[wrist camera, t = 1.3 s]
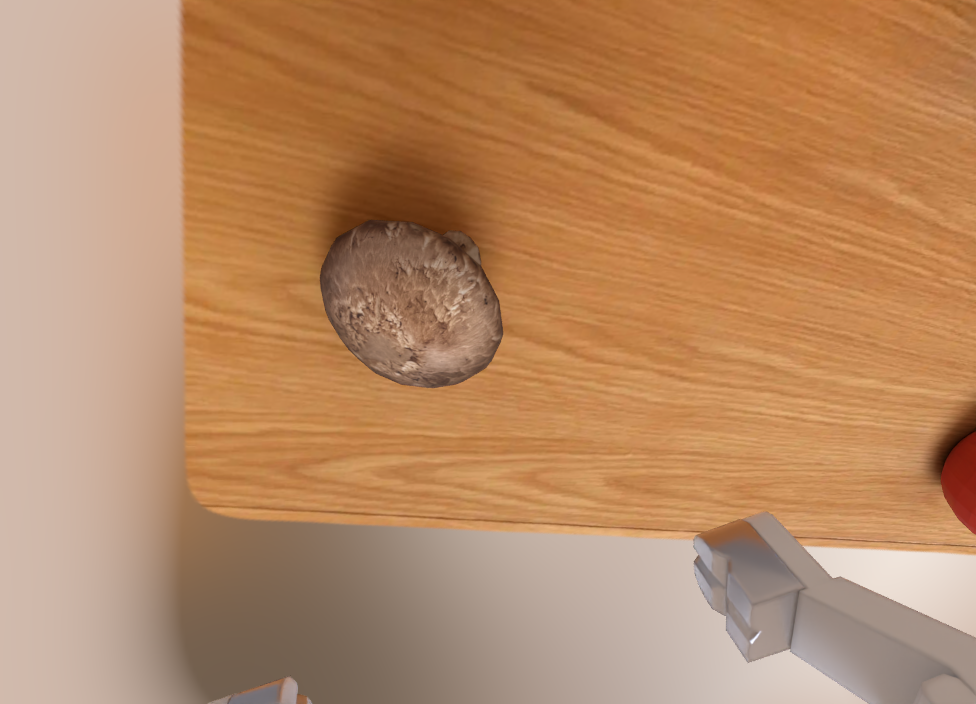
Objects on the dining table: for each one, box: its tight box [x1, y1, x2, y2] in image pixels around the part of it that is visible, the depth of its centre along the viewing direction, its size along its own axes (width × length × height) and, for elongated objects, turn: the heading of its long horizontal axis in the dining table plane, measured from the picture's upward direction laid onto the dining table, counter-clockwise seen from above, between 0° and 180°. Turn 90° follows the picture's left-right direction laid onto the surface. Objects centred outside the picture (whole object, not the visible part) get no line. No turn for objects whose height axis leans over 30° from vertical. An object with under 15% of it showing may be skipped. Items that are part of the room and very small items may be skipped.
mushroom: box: [320, 220, 503, 388], centre depth 22 cm, size 8×8×6 cm
